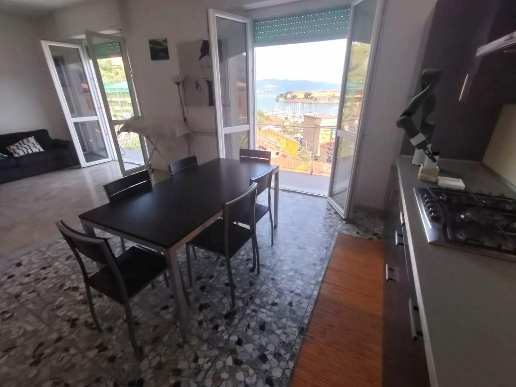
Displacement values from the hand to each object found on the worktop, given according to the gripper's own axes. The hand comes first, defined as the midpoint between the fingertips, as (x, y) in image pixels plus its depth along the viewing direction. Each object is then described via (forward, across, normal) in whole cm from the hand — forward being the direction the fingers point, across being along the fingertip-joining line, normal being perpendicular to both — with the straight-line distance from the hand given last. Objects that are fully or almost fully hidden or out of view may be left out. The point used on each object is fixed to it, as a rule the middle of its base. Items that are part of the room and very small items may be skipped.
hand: (435, 160), depth 154 cm
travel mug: (+8, 0, +10) cm, 13 cm away
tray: (+16, -7, +2) cm, 18 cm away
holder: (+8, 0, +10) cm, 13 cm away
